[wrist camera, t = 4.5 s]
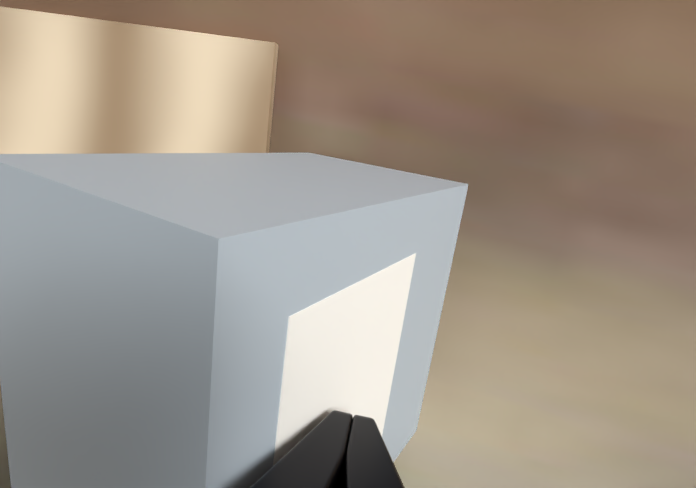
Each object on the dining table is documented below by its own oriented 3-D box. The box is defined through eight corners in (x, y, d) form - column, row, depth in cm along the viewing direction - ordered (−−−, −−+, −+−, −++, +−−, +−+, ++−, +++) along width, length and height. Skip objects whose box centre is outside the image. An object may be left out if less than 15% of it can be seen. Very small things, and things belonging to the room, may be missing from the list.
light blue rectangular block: (469, 184, 13) (220, 238, 5) (416, 431, 16) (192, 741, 8) (309, 152, 16) (-23, 153, 8) (286, 366, 19) (16, 541, 10)
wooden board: (278, 44, 15) (275, 42, 15) (244, 428, 20) (241, 434, 19) (-79, -3, 17) (-91, -6, 16) (-35, 366, 21) (-43, 370, 21)
